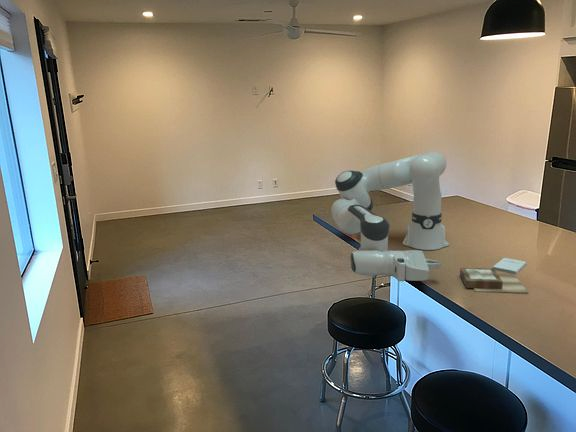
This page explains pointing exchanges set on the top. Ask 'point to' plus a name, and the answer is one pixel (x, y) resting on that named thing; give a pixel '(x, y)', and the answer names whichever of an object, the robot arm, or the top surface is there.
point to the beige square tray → (506, 285)
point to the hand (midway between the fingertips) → (440, 264)
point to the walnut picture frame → (481, 278)
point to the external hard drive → (509, 265)
